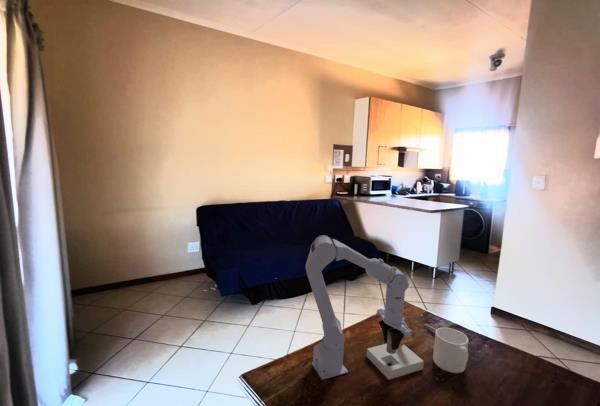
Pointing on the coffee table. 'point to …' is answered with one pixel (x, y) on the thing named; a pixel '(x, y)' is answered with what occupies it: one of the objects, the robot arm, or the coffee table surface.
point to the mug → (450, 350)
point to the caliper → (430, 328)
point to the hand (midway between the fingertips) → (391, 345)
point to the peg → (389, 344)
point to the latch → (406, 340)
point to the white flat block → (395, 360)
